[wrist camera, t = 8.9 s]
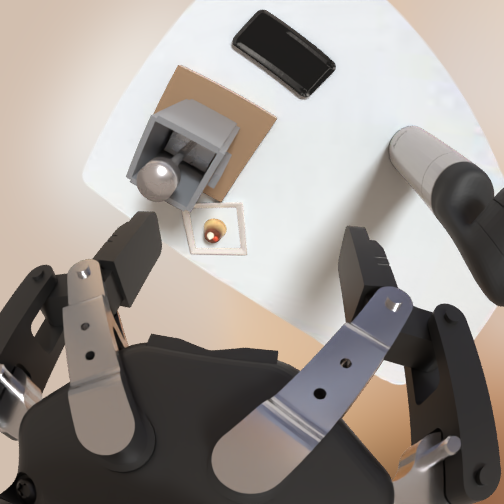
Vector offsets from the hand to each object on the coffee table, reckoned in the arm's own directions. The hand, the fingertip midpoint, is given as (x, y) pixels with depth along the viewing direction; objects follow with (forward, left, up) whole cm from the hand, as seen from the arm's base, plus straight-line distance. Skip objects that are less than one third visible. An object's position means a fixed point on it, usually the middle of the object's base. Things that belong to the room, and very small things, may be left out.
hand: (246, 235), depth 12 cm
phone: (+3, -9, -38) cm, 39 cm away
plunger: (+7, +10, -33) cm, 36 cm away
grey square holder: (+7, +10, -37) cm, 39 cm away
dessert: (-4, +26, -38) cm, 46 cm away
